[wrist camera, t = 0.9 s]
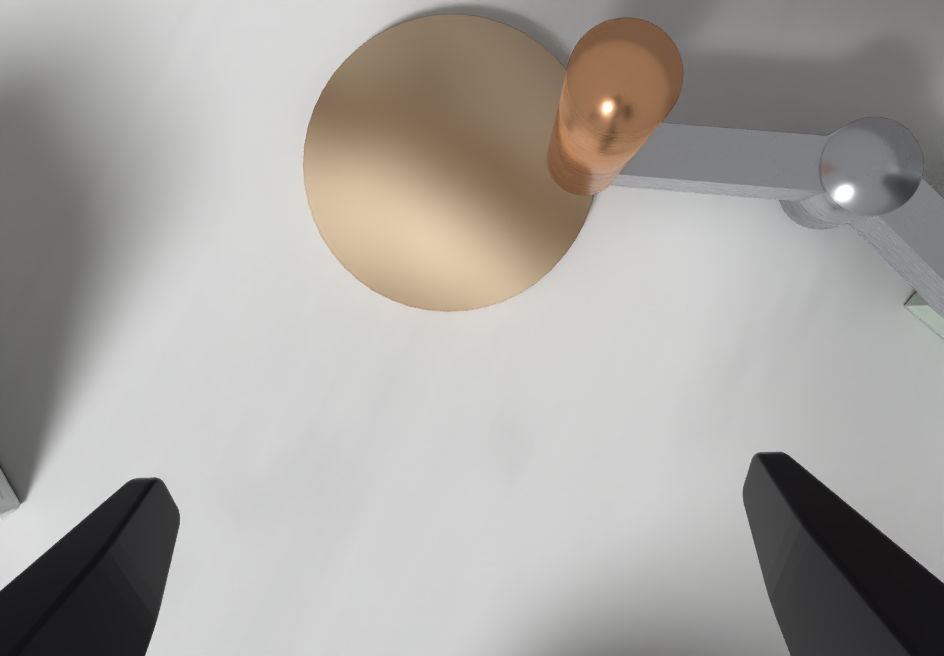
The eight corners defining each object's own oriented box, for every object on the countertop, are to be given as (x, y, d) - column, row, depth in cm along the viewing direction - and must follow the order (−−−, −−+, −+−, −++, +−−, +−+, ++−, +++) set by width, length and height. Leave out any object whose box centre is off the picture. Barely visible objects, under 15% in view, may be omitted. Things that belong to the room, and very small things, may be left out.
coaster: (549, 344, 22) (551, 345, 21) (277, 268, 22) (271, 267, 22) (629, 62, 21) (633, 55, 21) (350, -9, 22) (345, -18, 21)
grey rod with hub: (529, 167, 21) (542, 76, 13) (695, 1, 21) (817, -201, 13) (976, 618, 21) (1282, 820, 13) (1156, 460, 20) (1596, 561, 12)
